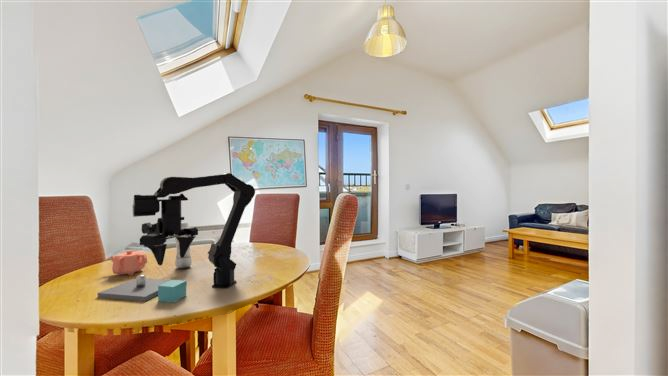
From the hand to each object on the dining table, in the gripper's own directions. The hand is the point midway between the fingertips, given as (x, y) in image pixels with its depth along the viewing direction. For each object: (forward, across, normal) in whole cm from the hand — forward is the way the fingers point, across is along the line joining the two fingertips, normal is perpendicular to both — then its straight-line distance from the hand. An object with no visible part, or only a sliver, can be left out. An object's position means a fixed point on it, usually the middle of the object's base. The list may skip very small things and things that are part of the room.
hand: (171, 261), depth 88 cm
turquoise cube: (+12, +1, +1) cm, 12 cm away
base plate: (+12, -3, -15) cm, 19 cm away
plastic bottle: (+12, -28, -20) cm, 37 cm away
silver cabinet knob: (+11, -3, -15) cm, 19 cm away
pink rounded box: (+12, -18, -38) cm, 43 cm away
